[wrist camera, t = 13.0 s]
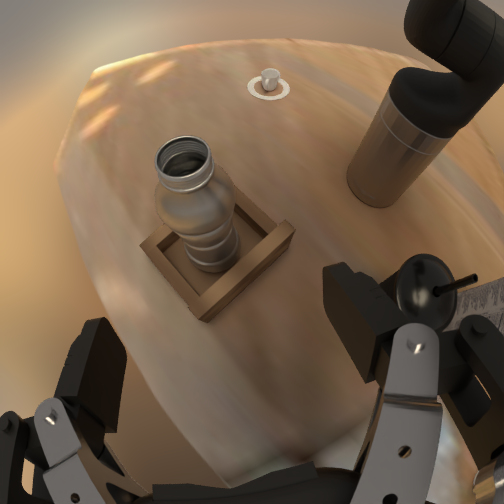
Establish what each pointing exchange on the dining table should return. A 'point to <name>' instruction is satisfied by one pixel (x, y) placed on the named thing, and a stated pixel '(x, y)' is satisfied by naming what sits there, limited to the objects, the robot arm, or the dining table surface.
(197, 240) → the plastic bottle
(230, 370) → the dining table surface
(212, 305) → the drawer
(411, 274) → the drinking cup
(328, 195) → the dining table surface
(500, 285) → the juice carton
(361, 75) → the dining table surface
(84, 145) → the dining table surface
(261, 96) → the teacup and saucer
